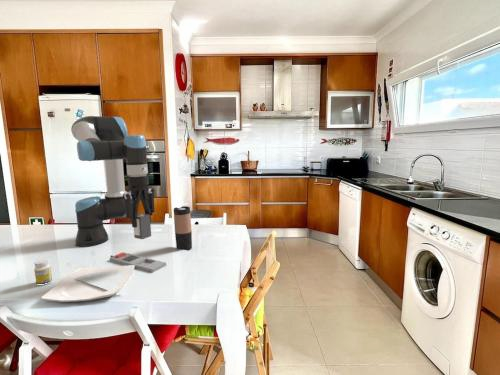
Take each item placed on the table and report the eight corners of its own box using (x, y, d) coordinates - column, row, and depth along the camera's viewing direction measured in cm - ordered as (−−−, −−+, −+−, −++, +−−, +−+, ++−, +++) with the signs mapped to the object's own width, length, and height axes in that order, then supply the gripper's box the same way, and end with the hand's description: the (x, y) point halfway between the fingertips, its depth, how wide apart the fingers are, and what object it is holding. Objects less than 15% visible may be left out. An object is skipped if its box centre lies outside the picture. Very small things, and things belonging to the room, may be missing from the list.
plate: (116, 303, 90) (115, 295, 90) (35, 308, 88) (34, 300, 88) (139, 269, 114) (138, 263, 114) (76, 273, 112) (75, 267, 112)
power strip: (104, 261, 123) (103, 254, 122) (118, 255, 129) (117, 249, 128) (153, 274, 108) (152, 267, 108) (166, 267, 114) (166, 260, 114)
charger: (134, 237, 113) (132, 215, 111) (143, 234, 117) (141, 213, 115) (142, 239, 111) (140, 217, 109) (151, 236, 115) (149, 214, 113)
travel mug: (188, 252, 131) (185, 210, 128) (173, 251, 132) (170, 209, 129) (194, 246, 138) (192, 206, 135) (180, 245, 140) (177, 206, 137)
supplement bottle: (42, 280, 107) (38, 259, 105) (55, 279, 107) (52, 258, 106) (33, 286, 102) (30, 264, 101) (47, 285, 102) (44, 263, 101)
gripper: (124, 178, 100) (130, 241, 104) (161, 173, 115) (165, 228, 119) (111, 177, 104) (117, 238, 108) (149, 172, 119) (153, 225, 123)
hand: (142, 232), depth 113 cm, fingers closed on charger, 4 cm apart
